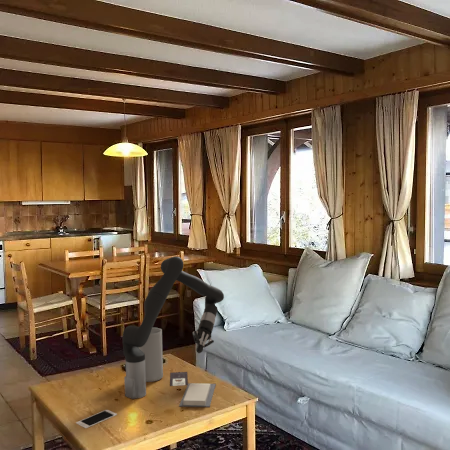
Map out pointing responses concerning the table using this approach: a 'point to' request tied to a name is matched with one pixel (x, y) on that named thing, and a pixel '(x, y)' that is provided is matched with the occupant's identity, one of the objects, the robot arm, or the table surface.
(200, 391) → the tile
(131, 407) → the table surface
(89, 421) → the cell phone
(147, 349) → the cylinder vase
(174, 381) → the chocolate bar
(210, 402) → the felt mat
